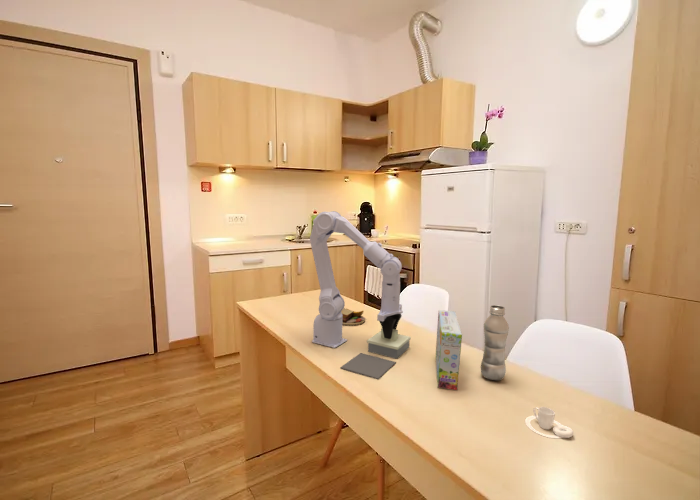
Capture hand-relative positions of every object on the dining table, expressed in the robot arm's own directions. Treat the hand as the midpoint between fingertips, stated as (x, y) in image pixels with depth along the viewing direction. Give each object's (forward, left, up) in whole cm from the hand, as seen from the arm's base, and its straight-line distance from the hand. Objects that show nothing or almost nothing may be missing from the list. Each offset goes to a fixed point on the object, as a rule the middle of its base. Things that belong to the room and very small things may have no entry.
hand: (389, 336), depth 116 cm
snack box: (+20, -5, -5) cm, 21 cm away
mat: (0, -14, -4) cm, 15 cm away
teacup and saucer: (+46, -22, -5) cm, 51 cm away
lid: (0, 0, -1) cm, 1 cm away
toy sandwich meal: (-26, +17, -5) cm, 32 cm away
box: (0, 0, -4) cm, 4 cm away
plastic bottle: (+32, -2, -4) cm, 32 cm away
